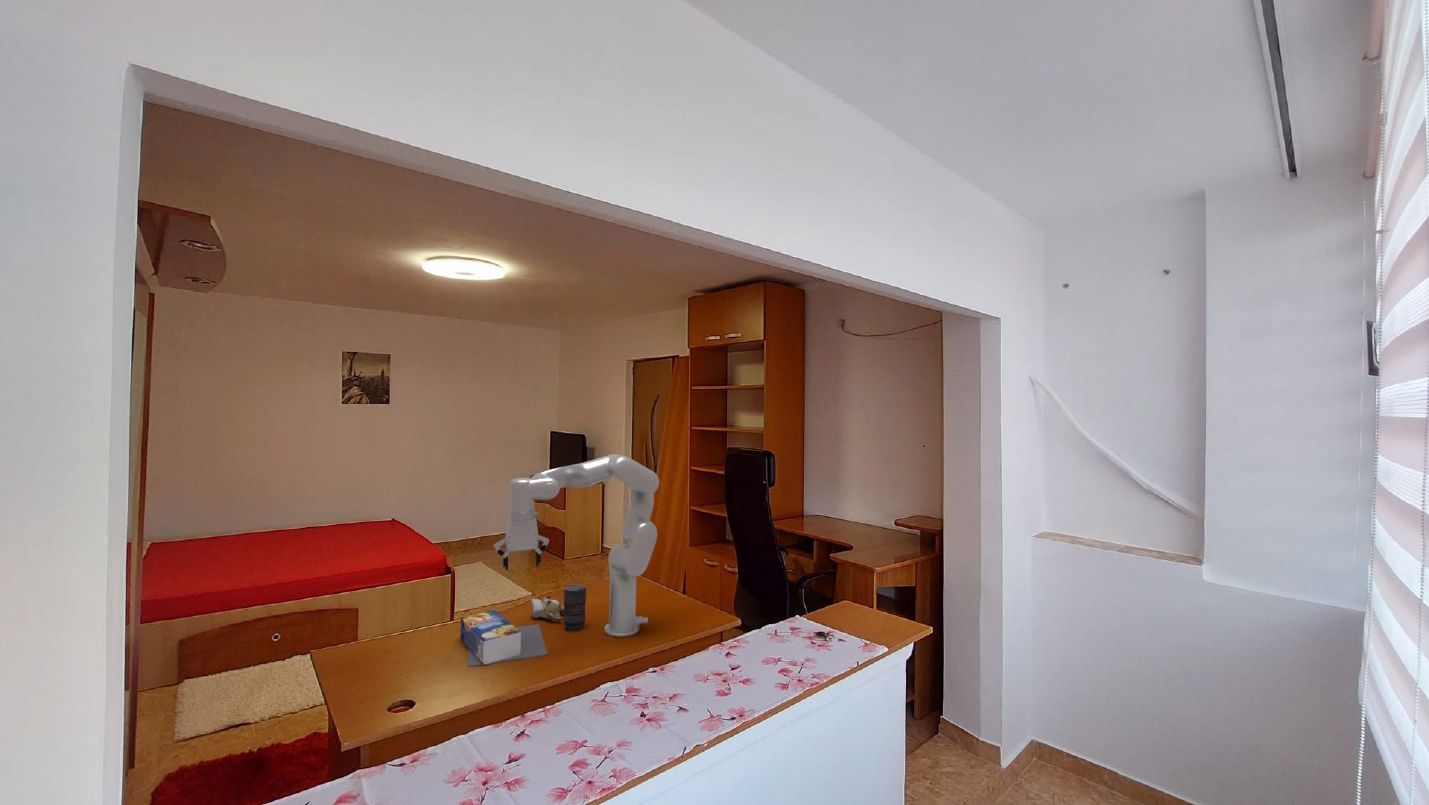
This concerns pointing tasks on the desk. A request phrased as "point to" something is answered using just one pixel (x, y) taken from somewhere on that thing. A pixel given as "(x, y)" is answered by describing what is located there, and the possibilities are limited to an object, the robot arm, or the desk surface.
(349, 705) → the desk surface
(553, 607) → the ceramic sculpture
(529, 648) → the mat
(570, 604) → the camera lens
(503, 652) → the juice carton
